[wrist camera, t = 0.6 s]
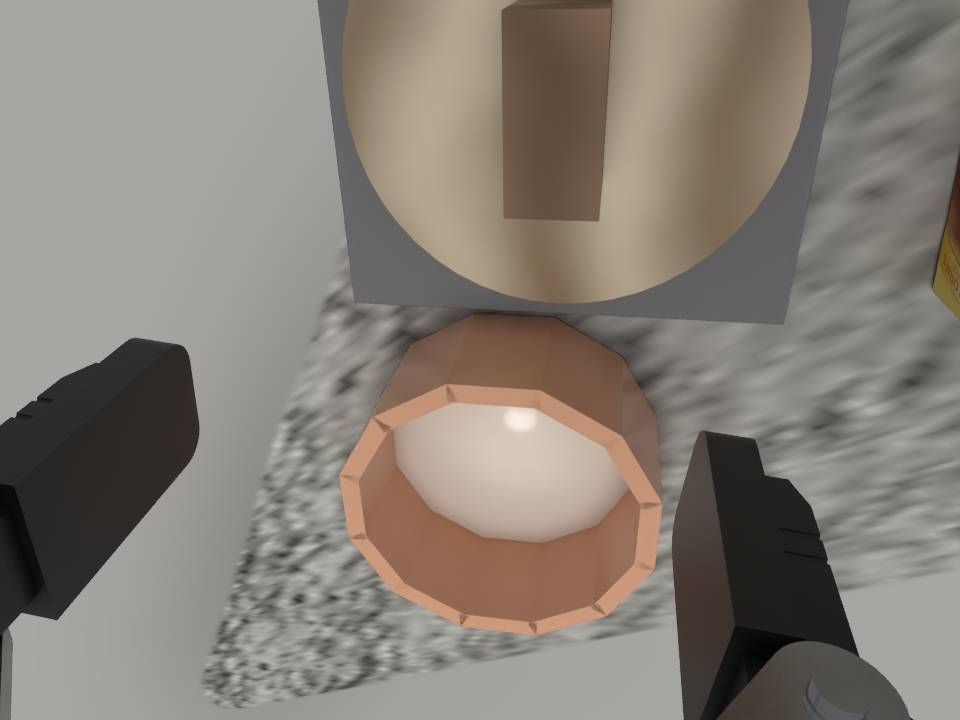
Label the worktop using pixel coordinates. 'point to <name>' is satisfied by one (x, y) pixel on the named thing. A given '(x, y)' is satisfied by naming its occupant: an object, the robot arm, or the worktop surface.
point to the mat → (691, 295)
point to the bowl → (508, 476)
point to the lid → (574, 131)
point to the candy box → (950, 256)
